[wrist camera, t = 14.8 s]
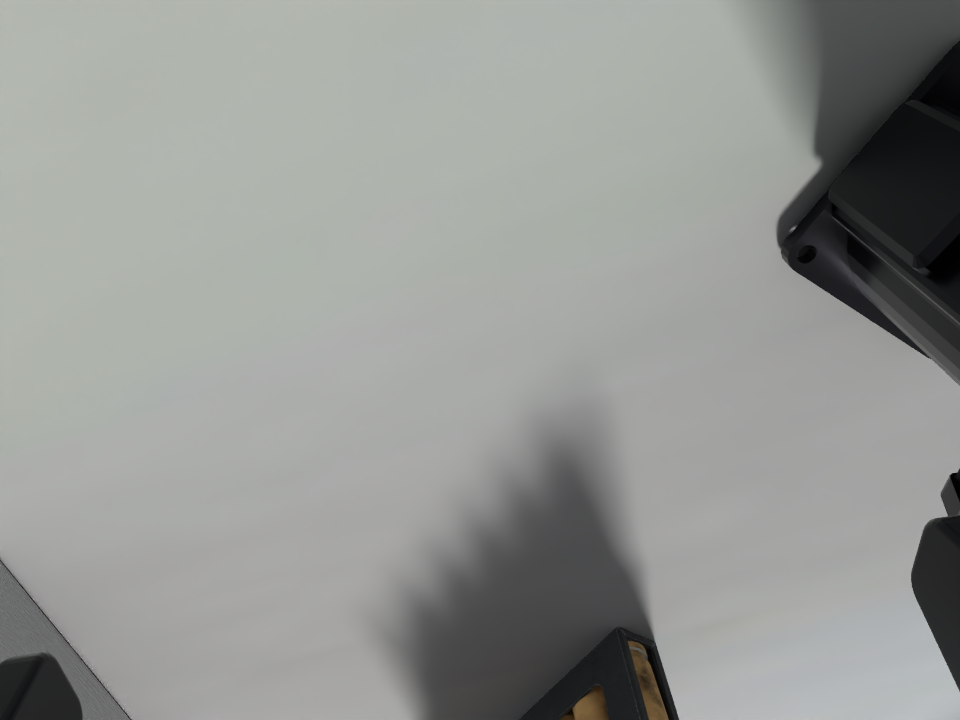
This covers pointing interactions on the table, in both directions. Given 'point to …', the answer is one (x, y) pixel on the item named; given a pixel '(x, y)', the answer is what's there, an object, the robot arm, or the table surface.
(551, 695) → the ammunition clip
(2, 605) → the metal housing
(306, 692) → the table surface
